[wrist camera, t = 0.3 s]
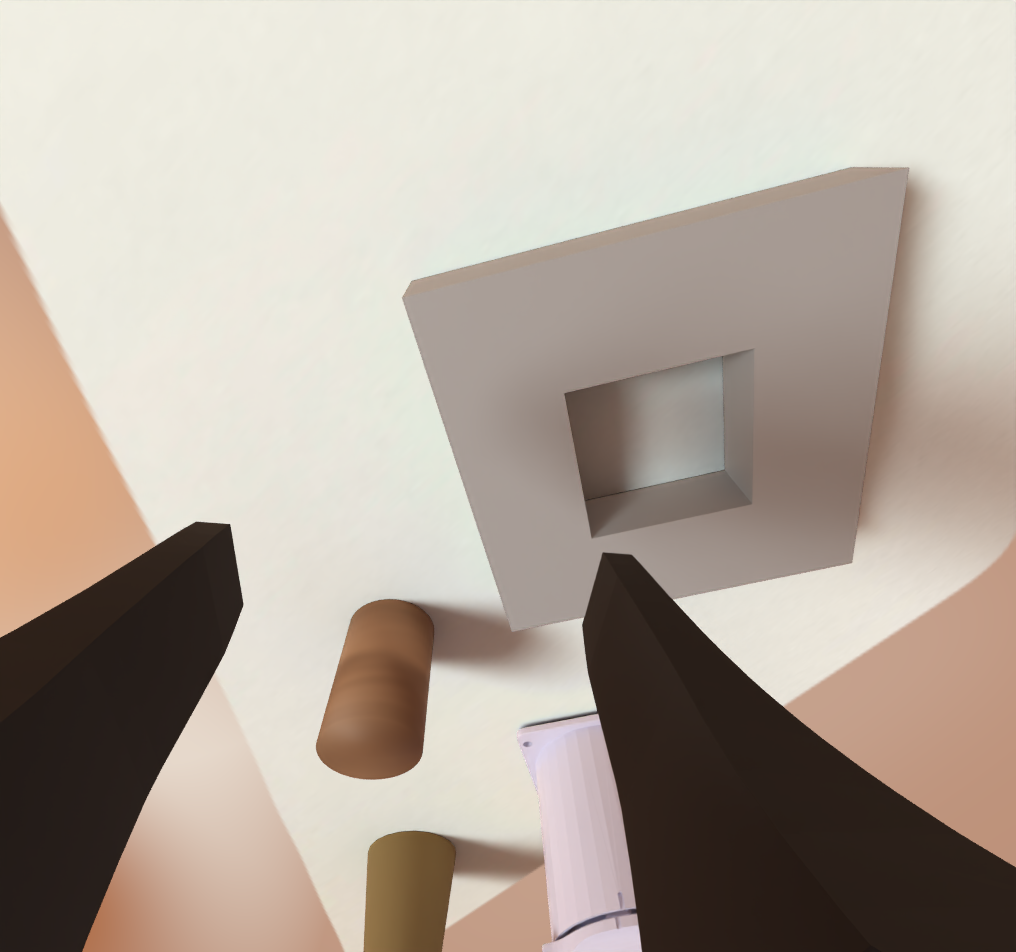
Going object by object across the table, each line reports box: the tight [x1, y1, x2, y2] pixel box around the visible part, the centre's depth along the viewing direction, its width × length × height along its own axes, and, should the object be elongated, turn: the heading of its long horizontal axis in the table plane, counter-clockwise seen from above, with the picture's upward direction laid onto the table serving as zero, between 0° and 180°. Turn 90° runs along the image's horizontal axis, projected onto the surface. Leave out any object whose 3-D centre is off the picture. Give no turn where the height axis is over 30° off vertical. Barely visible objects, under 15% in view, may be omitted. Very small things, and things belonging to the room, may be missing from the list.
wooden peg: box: [316, 599, 434, 779], centre depth 23 cm, size 4×4×6 cm
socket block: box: [402, 167, 909, 632], centre depth 19 cm, size 14×14×2 cm
